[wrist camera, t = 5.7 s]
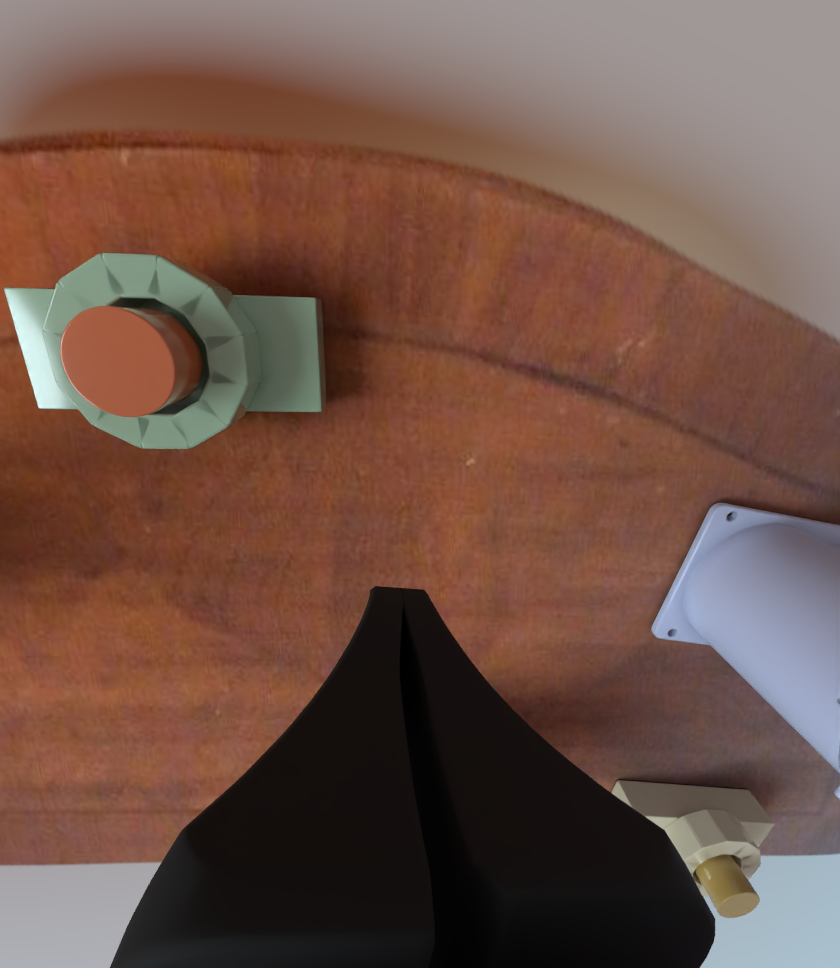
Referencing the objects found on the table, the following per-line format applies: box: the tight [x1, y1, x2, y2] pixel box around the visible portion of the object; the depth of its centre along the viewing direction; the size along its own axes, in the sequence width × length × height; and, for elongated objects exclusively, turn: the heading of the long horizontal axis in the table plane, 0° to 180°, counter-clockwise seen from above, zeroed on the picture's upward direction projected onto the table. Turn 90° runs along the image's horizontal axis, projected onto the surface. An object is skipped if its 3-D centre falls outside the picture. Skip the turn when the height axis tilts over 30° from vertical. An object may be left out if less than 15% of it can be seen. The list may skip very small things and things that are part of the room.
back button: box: [695, 854, 759, 918], centre depth 25 cm, size 2×2×2 cm
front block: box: [4, 252, 327, 449], centre depth 15 cm, size 10×6×4 cm, turn 88°
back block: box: [611, 780, 775, 897], centre depth 28 cm, size 10×5×4 cm, turn 78°
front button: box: [60, 306, 203, 417], centre depth 13 cm, size 3×3×2 cm
